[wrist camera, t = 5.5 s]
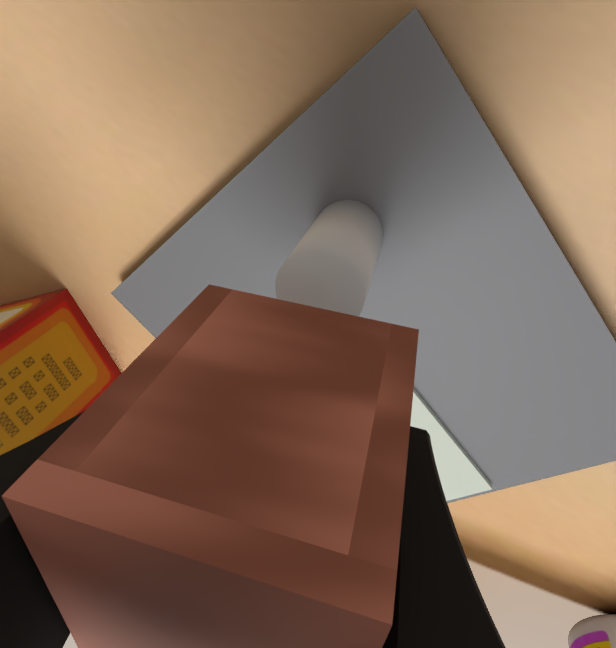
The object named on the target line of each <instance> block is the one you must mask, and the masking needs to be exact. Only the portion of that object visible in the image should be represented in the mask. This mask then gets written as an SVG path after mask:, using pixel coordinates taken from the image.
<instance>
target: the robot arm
mask: <svg viewBox="0 0 616 648" xmlns="http://www.w3.org/2000/svg"><path fill="white" fill-rule="evenodd" d="M83 412H84V411H83ZM83 412H81V413H80V414H78V415H76V416H74V417H72V418H71V419H69V420H67V421H65V422H63V423H61V424H59V425H58V426H56V427H54V428H52V429H50V430H48V431H47V432H45V433H43V434H41V435H39V436H37V437H35V438H34V439H32V440H30V441H28V442H26V443H24V444H22V445H20V446H18V447H16V448H14V449H12V450H10V451H8V452H6V453H4V454H2V455H0V648H62V647H63V645H64V644H65V641H66V640H67V638H68V636H69V634H70V630H69V628H68V626H67V625H66V623H65V621H64V619H63V617H62V615H61V613H60V611H59V609H58V607H57V605H56V603H55V601H54V599H53V597H52V595H51V593H50V591H49V589H48V587H47V585H46V583H45V581H44V579H43V577H42V575H41V573H40V571H39V569H38V567H37V565H36V563H35V561H34V559H33V557H32V555H31V553H30V551H29V550H28V548H27V546H26V544H25V542H24V540H23V538H22V536H21V534H20V532H19V530H18V528H17V526H16V524H15V522H14V520H13V518H12V516H11V514H10V512H9V510H8V508H7V506H6V504H5V502H4V500H3V498H2V495H3V494H4V493H5V492H6V491H7V490H8V489H9V488H10V487H11V486H12V485H13V484H14V483H15V482H16V481H17V480H18V479H19V478H20V477H21V476H22V475H23V474H24V473H25V472H26V470H27V469H28V468H29V467H30V466H31V465H32V464H33V463H34V462H35V461H36V460H37V459H38V458H39V457H40V456H41V455H42V454H43V453H44V452H45V451H46V450H47V449H48V448H49V447H50V446H51V445H52V444H53V443H54V442H55V441H56V440H57V439H58V438H59V437H60V436H61V435H62V434H63V433H64V432H65V431H66V430H67V429H68V428H69V427H70V426H71V425H72V424H73V423H74V422H75V421H76V420H77V418H78V417H79V416H80V415H81V414H82V413H83ZM382 648H505V646H504V644H503V642H502V640H501V637H500V635H499V633H498V631H497V629H496V627H495V624H494V622H493V620H492V618H491V616H490V614H489V611H488V609H487V607H486V604H485V602H484V600H483V598H482V595H481V593H480V590H479V588H478V586H477V583H476V581H475V578H474V576H473V574H472V571H471V568H470V566H469V563H468V561H467V558H466V556H465V553H464V551H463V548H462V545H461V542H460V540H459V537H458V534H457V531H456V528H455V525H454V522H453V519H452V516H451V514H450V511H449V508H448V505H447V502H446V498H445V495H444V492H443V488H442V485H441V481H440V478H439V474H438V471H437V467H436V463H435V458H434V454H433V449H432V445H431V439H430V435H429V433H428V432H427V430H424V429H420V428H416V427H412V426H410V434H409V445H408V456H407V467H406V478H405V489H404V501H403V512H402V523H401V534H400V545H399V556H398V567H397V578H396V589H395V600H394V611H393V622H392V627H391V629H390V631H389V633H388V636H387V638H386V640H385V642H384V645H383V647H382Z"/></svg>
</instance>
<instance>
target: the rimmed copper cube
mask: <svg viewBox="0 0 616 648" xmlns="http://www.w3.org/2000/svg"><path fill="white" fill-rule="evenodd" d="M418 334H419V329H414V328H410V327H405V326H400V325H396V324H391V323H387V322H382V321H377V320H373V319H368V318H363V317H359V316H354V315H349V314H345V313H340V312H335V311H331V310H326V309H321V308H317V307H312V306H307V305H303V304H298V303H294V302H289V301H284V300H280V299H275V298H270V297H266V296H261V295H256V294H252V293H247V292H242V291H238V290H233V289H228V288H224V287H219V286H215V285H210V284H209V285H208V286H207V287H206V288H205V289H204V290H203V291H202V292H201V293H200V294H199V295H198V296H197V297H196V298H195V299H194V300H193V301H192V302H191V303H190V304H189V305H188V306H187V307H186V308H185V309H184V310H183V311H182V312H181V313H180V315H179V316H178V317H177V318H176V319H175V320H174V321H173V322H172V323H171V324H170V325H169V326H168V327H167V328H166V329H165V330H164V331H163V332H162V333H161V334H160V335H159V336H158V337H157V338H156V339H155V340H154V341H153V342H152V343H151V344H150V345H149V346H148V347H147V348H146V349H145V350H144V351H143V352H142V353H141V354H140V355H139V356H138V357H137V358H136V359H135V360H134V361H133V362H132V363H131V364H130V365H129V367H128V368H127V369H126V370H125V371H124V372H123V373H122V374H121V375H120V376H119V377H118V378H117V379H116V380H115V381H114V382H113V383H112V384H111V385H110V386H109V387H108V388H107V389H106V390H105V391H104V392H103V393H102V394H101V395H100V396H99V397H98V398H97V399H96V400H95V401H94V402H93V403H92V404H91V405H90V406H89V407H88V408H87V409H86V410H85V411H84V412H83V413H82V414H81V415H80V416H79V417H78V418H77V420H76V421H75V422H74V423H73V424H72V425H71V426H70V427H69V428H68V429H67V430H66V431H65V432H64V433H63V434H62V435H61V436H60V437H59V438H58V439H57V440H56V441H55V442H54V443H53V444H52V445H51V446H50V447H49V448H48V449H47V450H46V451H45V452H44V453H43V454H42V455H41V456H40V457H39V458H38V459H37V460H36V461H35V462H34V463H33V464H32V465H31V466H30V467H29V468H28V469H27V470H26V472H25V473H24V474H23V475H22V476H21V477H20V478H19V479H18V480H17V481H16V482H15V483H14V484H13V485H12V486H11V487H10V488H9V489H8V490H7V491H6V492H5V493H4V494H3V495H2V498H3V500H4V502H5V504H6V506H7V508H8V510H9V512H10V514H11V516H12V518H13V520H14V522H15V524H16V526H17V528H18V530H19V532H20V534H21V536H22V538H23V540H24V542H25V544H26V546H27V548H28V550H29V551H30V553H31V555H32V557H33V559H34V561H35V563H36V565H37V567H38V569H39V571H40V573H41V575H42V577H43V579H44V581H45V583H46V585H47V587H48V589H49V591H50V593H51V595H52V597H53V599H54V601H55V603H56V605H57V607H58V609H59V611H60V613H61V615H62V617H63V619H64V621H65V623H66V625H67V626H68V628H69V630H70V632H71V634H72V636H73V638H74V640H75V642H76V644H77V646H78V648H382V647H383V645H384V642H385V640H386V638H387V636H388V633H389V631H390V629H391V627H392V622H393V611H394V600H395V589H396V578H397V567H398V556H399V545H400V534H401V523H402V512H403V501H404V489H405V478H406V467H407V456H408V445H409V434H410V423H411V412H412V401H413V390H414V379H415V368H416V356H417V345H418Z"/></svg>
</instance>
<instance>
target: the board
mask: <svg viewBox="0 0 616 648" xmlns="http://www.w3.org/2000/svg"><path fill="white" fill-rule="evenodd" d="M209 284H210V285H215V286H219V287H224V288H228V289H233V290H238V291H242V292H247V293H252V294H256V295H261V296H266V297H270V298H275V299H280V300H284V301H289V302H294V303H298V304H303V305H307V306H312V307H317V308H321V309H326V310H331V311H335V312H340V313H345V314H349V315H354V316H359V317H363V318H368V319H373V320H377V321H382V322H387V323H391V324H396V325H400V326H405V327H410V328H414V329H419V334H418V345H417V356H416V368H415V379H414V390H413V401H412V412H411V423H410V426H412V427H416V428H420V429H424V430H427V432H428V433H429V435H430V439H431V445H432V449H433V454H434V458H435V463H436V467H437V471H438V474H439V478H440V481H441V485H442V488H443V492H444V495H445V498H446V502H447V503H449V502H453V501H457V500H461V499H465V498H469V497H473V496H477V495H481V494H485V493H489V492H493V491H497V490H501V489H505V488H509V487H513V486H517V485H521V484H525V483H529V482H533V481H537V480H541V479H545V478H549V477H553V476H557V475H561V474H565V473H569V472H573V471H577V470H581V469H585V468H589V467H593V466H596V465H600V464H604V463H608V462H612V461H616V341H615V339H614V338H613V336H612V334H611V333H610V331H609V329H608V328H607V326H606V324H605V323H604V321H603V319H602V318H601V316H600V314H599V313H598V311H597V309H596V308H595V306H594V304H593V302H592V301H591V299H590V297H589V296H588V294H587V292H586V291H585V289H584V287H583V286H582V284H581V282H580V281H579V279H578V277H577V276H576V274H575V272H574V271H573V269H572V267H571V266H570V264H569V262H568V261H567V259H566V257H565V256H564V254H563V252H562V251H561V249H560V247H559V246H558V244H557V242H556V241H555V239H554V237H553V236H552V234H551V232H550V231H549V229H548V227H547V226H546V224H545V222H544V221H543V219H542V217H541V216H540V214H539V212H538V211H537V209H536V207H535V205H534V204H533V202H532V200H531V199H530V197H529V195H528V194H527V192H526V190H525V189H524V187H523V185H522V184H521V182H520V180H519V179H518V177H517V175H516V174H515V172H514V170H513V169H512V167H511V165H510V164H509V162H508V160H507V159H506V157H505V155H504V154H503V152H502V150H501V149H500V147H499V145H498V144H497V142H496V140H495V139H494V137H493V135H492V134H491V132H490V130H489V129H488V127H487V125H486V124H485V122H484V120H483V119H482V117H481V115H480V114H479V112H478V110H477V108H476V107H475V105H474V103H473V102H472V100H471V98H470V97H469V95H468V93H467V92H466V90H465V88H464V87H463V85H462V83H461V82H460V80H459V78H458V77H457V75H456V73H455V72H454V70H453V68H452V67H451V65H450V63H449V62H448V60H447V58H446V57H445V55H444V53H443V52H442V50H441V48H440V47H439V45H438V43H437V42H436V40H435V38H434V37H433V35H432V33H431V32H430V30H429V28H428V27H427V25H426V23H425V22H424V20H423V18H422V16H421V15H420V13H419V11H418V10H417V8H416V7H415V8H414V9H413V10H412V11H411V12H410V13H409V14H408V15H407V16H406V17H405V18H404V19H403V20H402V21H400V22H399V23H398V24H397V25H396V26H395V27H394V28H393V29H392V30H391V31H390V32H389V33H388V34H387V35H386V36H384V37H383V38H382V39H381V40H380V41H379V42H378V43H377V44H376V45H375V46H374V47H373V48H372V49H371V50H370V51H368V52H367V53H366V54H365V55H364V56H363V57H362V58H361V59H360V60H359V61H358V62H357V63H356V64H355V65H354V66H353V67H351V68H350V69H349V70H348V71H347V72H346V73H345V74H344V75H343V76H342V77H341V78H340V79H339V80H338V81H337V82H335V83H334V84H333V85H332V86H331V87H330V88H329V89H328V90H327V91H326V92H325V93H324V94H323V95H322V96H321V97H319V98H318V99H317V100H316V101H315V102H314V103H313V104H312V105H311V106H310V107H309V108H308V109H307V110H306V111H305V112H303V113H302V114H301V115H300V116H299V117H298V118H297V119H296V120H295V121H294V122H293V123H292V124H291V125H290V126H289V127H288V128H286V129H285V130H284V131H283V132H282V133H281V134H280V135H279V136H278V137H277V138H276V139H275V140H274V141H273V142H272V143H270V144H269V145H268V146H267V147H266V148H265V149H264V150H263V151H262V152H261V153H260V154H259V155H258V156H257V157H256V158H254V159H253V160H252V161H251V162H250V163H249V164H248V165H247V166H246V167H245V168H244V169H243V170H242V171H241V172H240V173H238V174H237V175H236V176H235V177H234V178H233V179H232V180H231V181H230V182H229V183H228V184H227V185H226V186H225V187H224V188H223V189H221V190H220V191H219V192H218V193H217V194H216V195H215V196H214V197H213V198H212V199H211V200H210V201H209V202H208V203H207V204H205V205H204V206H203V207H202V208H201V209H200V210H199V211H198V212H197V213H196V214H195V215H194V216H193V217H192V218H191V219H189V220H188V221H187V222H186V223H185V224H184V225H183V226H182V227H181V228H180V229H179V230H178V231H177V232H176V233H175V234H174V235H172V236H171V237H170V238H169V239H168V240H167V241H166V242H165V243H164V244H163V245H162V246H161V247H160V248H159V249H158V250H156V251H155V252H154V253H153V254H152V255H151V256H150V257H149V258H148V259H147V260H146V261H145V262H144V263H143V264H142V265H140V266H139V267H138V268H137V269H136V270H135V271H134V272H133V273H132V274H131V275H130V276H129V277H128V278H127V279H126V280H124V281H123V282H122V283H121V284H120V285H119V286H118V287H117V288H116V289H115V290H114V291H113V292H112V293H111V294H112V295H113V296H114V297H115V298H116V299H117V300H118V301H119V302H120V303H121V304H122V305H123V306H124V307H125V308H126V309H127V310H128V311H129V312H130V313H131V314H132V315H133V316H134V317H135V318H136V319H137V320H138V321H139V322H140V323H141V324H142V325H143V326H144V327H145V328H146V329H147V330H148V331H149V332H150V333H151V334H152V335H153V336H154V337H155V338H157V337H158V336H159V335H160V334H161V333H162V332H163V331H164V330H165V329H166V328H167V327H168V326H169V325H170V324H171V323H172V322H173V321H174V320H175V319H176V318H177V317H178V316H179V315H180V313H181V312H182V311H183V310H184V309H185V308H186V307H187V306H188V305H189V304H190V303H191V302H192V301H193V300H194V299H195V298H196V297H197V296H198V295H199V294H200V293H201V292H202V291H203V290H204V289H205V288H206V287H207V286H208V285H209Z"/></svg>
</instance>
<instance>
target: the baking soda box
mask: <svg viewBox="0 0 616 648" xmlns="http://www.w3.org/2000/svg"><path fill="white" fill-rule="evenodd" d="M121 374H122V373H121V372H120V370H119V368H118V367H117V365H116V364H115V362H114V361H113V359H112V358H111V356H110V355H109V353H108V351H107V350H106V348H105V347H104V345H103V344H102V342H101V341H100V339H99V338H98V336H97V334H96V333H95V331H94V330H93V328H92V327H91V325H90V324H89V322H88V321H87V319H86V318H85V316H84V314H83V313H82V311H81V310H80V308H79V307H78V305H77V304H76V302H75V301H74V299H73V297H72V296H71V294H70V293H69V291H68V290H67V288H66V289H63V290H59V291H55V292H51V293H47V294H43V295H39V296H36V297H32V298H28V299H24V300H20V301H16V302H12V303H9V304H5V305H1V306H0V455H2V454H4V453H6V452H8V451H10V450H12V449H14V448H16V447H18V446H20V445H22V444H24V443H26V442H28V441H30V440H32V439H34V438H35V437H37V436H39V435H41V434H43V433H45V432H47V431H48V430H50V429H52V428H54V427H56V426H58V425H59V424H61V423H63V422H65V421H67V420H69V419H71V418H72V417H74V416H76V415H78V414H80V413H81V412H83V411H85V410H86V409H87V408H88V407H89V406H90V405H91V404H92V403H93V402H94V401H95V400H96V399H97V398H98V397H99V396H100V395H101V394H102V393H103V392H104V391H105V390H106V389H107V388H108V387H109V386H110V385H111V384H112V383H113V382H114V381H115V380H116V379H117V378H118V377H119V376H120V375H121Z"/></svg>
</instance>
